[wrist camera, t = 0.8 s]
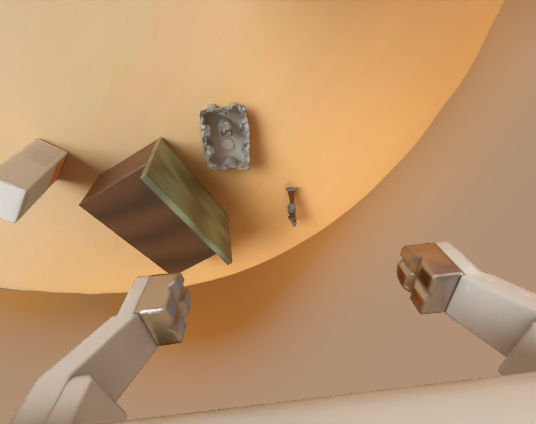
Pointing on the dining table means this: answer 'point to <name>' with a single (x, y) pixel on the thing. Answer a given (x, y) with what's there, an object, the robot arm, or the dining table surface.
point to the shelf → (160, 209)
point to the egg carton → (225, 137)
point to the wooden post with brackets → (291, 206)
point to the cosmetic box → (28, 177)
